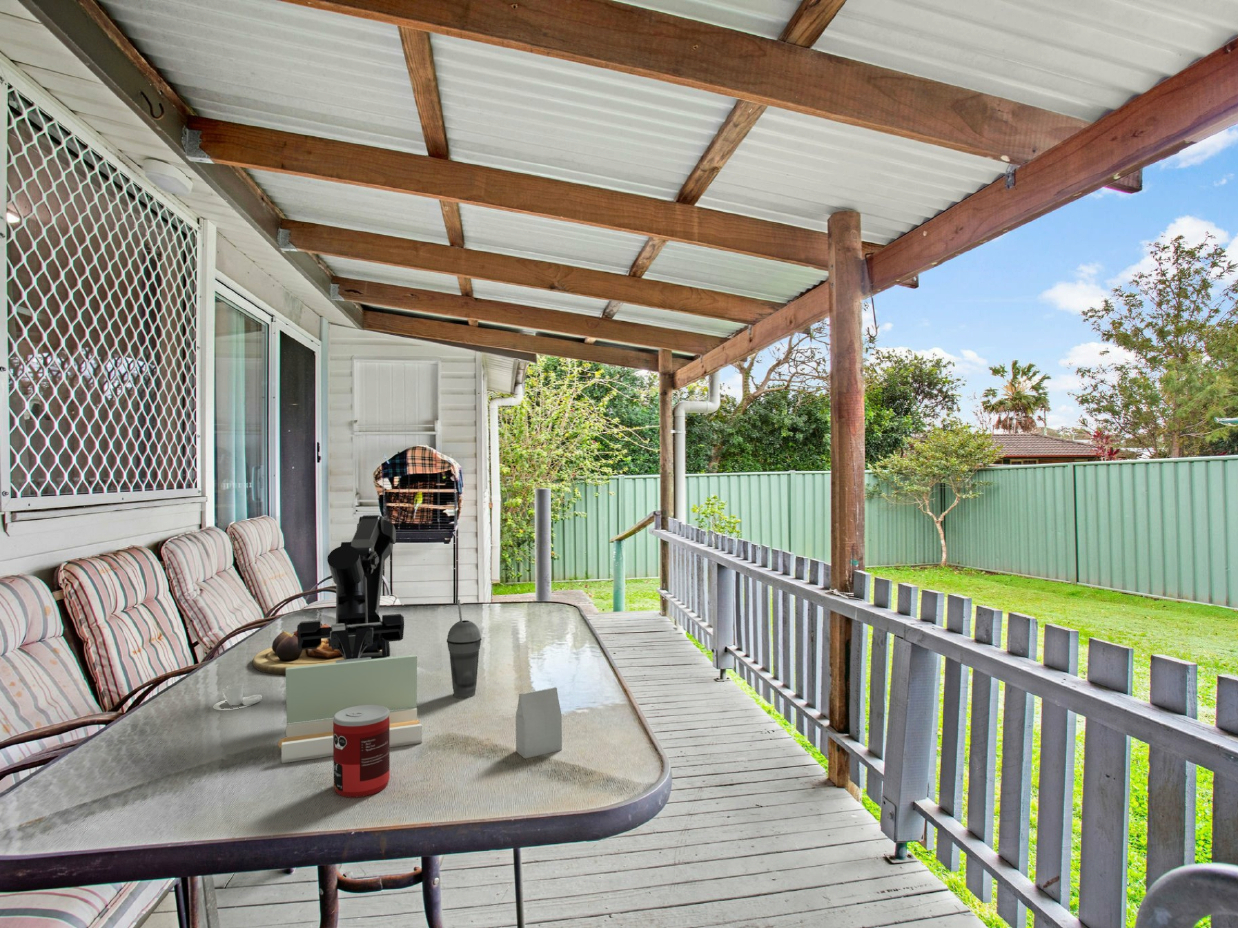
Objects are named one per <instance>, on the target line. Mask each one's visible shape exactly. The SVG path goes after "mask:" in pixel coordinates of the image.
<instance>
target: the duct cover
mask: <svg viewBox="0 0 1238 928" xmlns="http://www.w3.org/2000/svg"><path fill="white" fill-rule="evenodd" d="M417 691H418V655H417V654H409V655H399V656H389V657H386V658H378V659H371V657H366V658H356V659H346V660H336V663H328V664H318V665H308V666H298V667H288V668H286V675H285V703H286V706H285V707H286V725H287V724H292V723H300V722H308V721H316V720H324V719H331V718H334V715H335V714H336V713H337V712H339V711H341V710H343V709H346V708H350V707H354V706H360V705H379V706H384V707H386V708H388V709H389V711H394V710H402V709H410V708H418V707H417V705H418V703H417V702H418V701H417V699H418V698H417V697H418V695H417V694H418V692H417Z"/></svg>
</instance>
